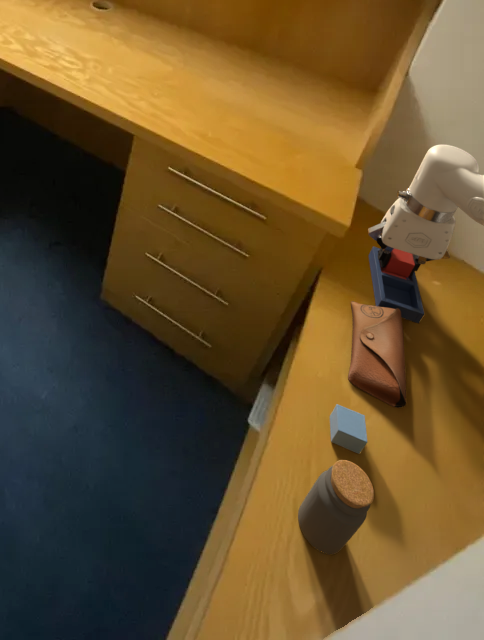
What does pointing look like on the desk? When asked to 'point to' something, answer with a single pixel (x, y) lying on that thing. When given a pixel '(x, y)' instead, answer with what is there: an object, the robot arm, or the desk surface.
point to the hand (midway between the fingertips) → (395, 265)
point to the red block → (400, 263)
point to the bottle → (335, 506)
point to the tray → (395, 290)
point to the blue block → (348, 429)
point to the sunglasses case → (378, 353)
